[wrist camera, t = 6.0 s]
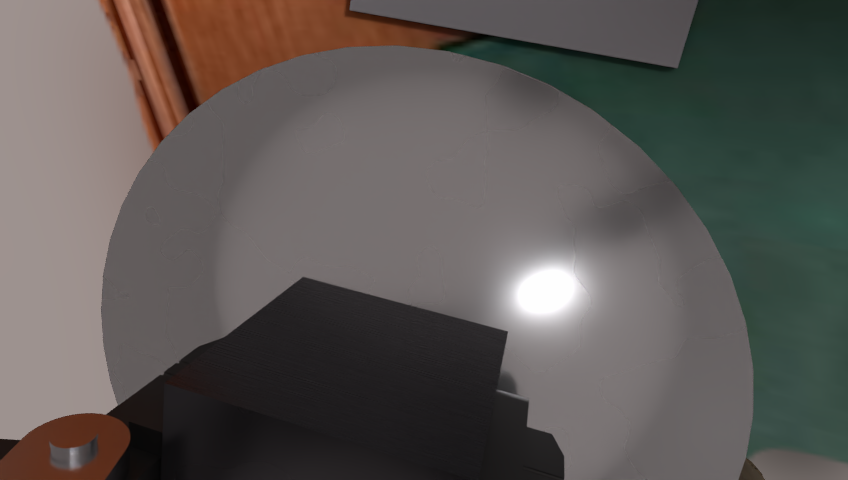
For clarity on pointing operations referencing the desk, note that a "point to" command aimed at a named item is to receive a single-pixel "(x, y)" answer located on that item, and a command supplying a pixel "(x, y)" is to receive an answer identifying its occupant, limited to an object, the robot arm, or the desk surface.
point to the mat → (560, 23)
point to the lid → (420, 282)
